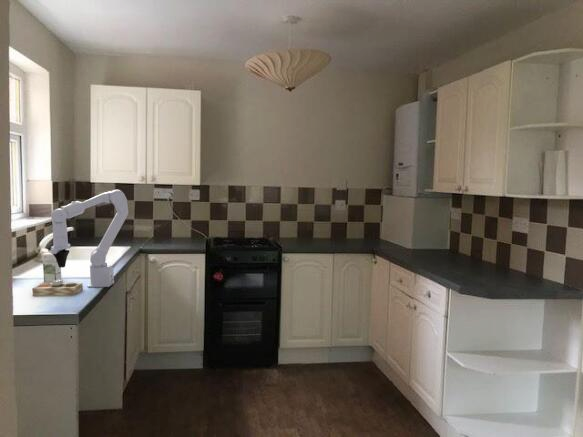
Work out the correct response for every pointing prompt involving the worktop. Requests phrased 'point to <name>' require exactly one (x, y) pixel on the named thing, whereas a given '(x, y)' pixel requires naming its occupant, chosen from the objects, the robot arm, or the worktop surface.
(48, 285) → the terracotta button
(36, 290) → the light wooden flat frame
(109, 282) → the robot arm
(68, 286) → the walnut button
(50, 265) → the syrup box
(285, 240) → the worktop surface
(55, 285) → the steel button
